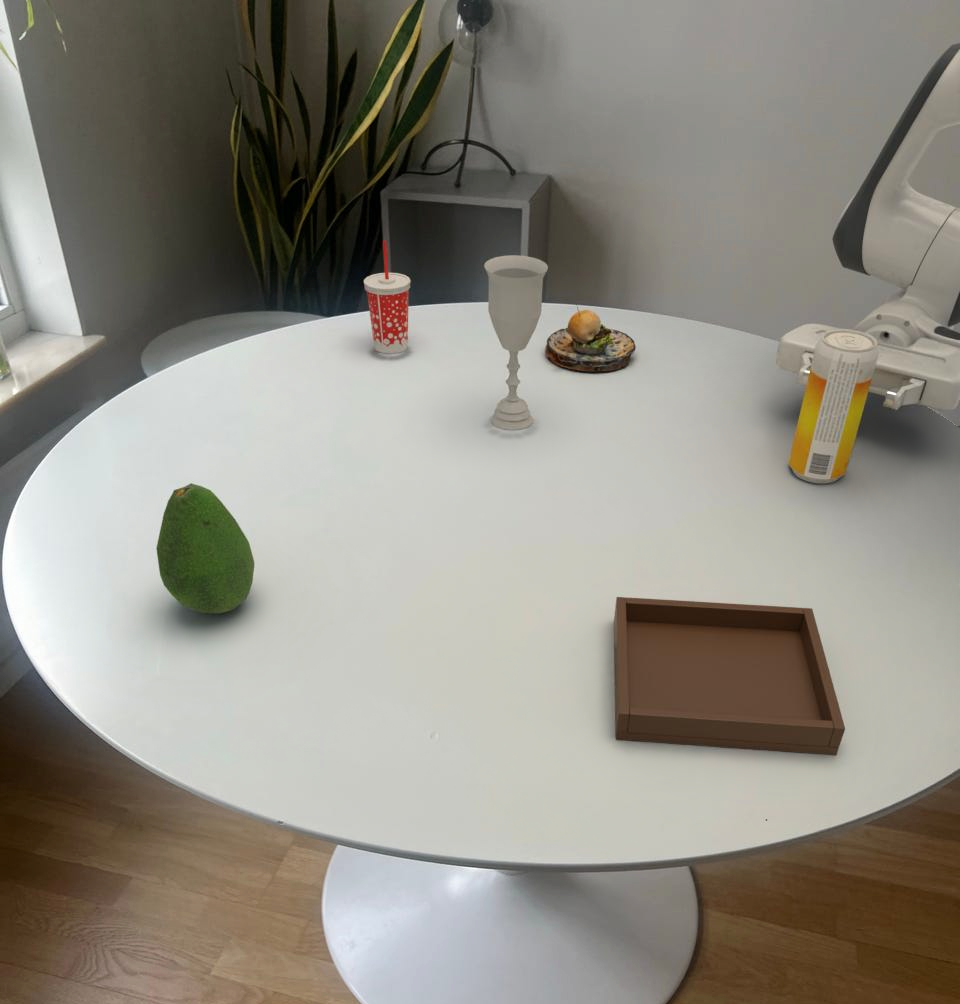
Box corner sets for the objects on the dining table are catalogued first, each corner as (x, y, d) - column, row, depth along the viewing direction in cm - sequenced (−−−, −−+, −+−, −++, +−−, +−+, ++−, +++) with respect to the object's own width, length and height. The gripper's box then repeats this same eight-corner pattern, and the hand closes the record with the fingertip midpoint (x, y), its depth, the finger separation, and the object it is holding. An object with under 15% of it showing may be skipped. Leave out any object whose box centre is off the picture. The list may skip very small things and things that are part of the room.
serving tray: (805, 633, 84) (812, 608, 82) (836, 755, 73) (845, 728, 71) (613, 621, 85) (616, 596, 83) (615, 739, 74) (618, 713, 72)
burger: (646, 369, 126) (652, 312, 121) (559, 377, 124) (562, 320, 119) (616, 334, 135) (621, 280, 130) (535, 341, 133) (537, 286, 128)
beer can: (841, 460, 107) (877, 329, 98) (847, 488, 103) (885, 353, 93) (785, 456, 108) (815, 325, 99) (789, 483, 104) (821, 349, 94)
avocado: (217, 570, 91) (194, 457, 83) (278, 599, 88) (259, 484, 80) (151, 613, 86) (119, 496, 78) (212, 645, 83) (185, 527, 75)
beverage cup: (421, 342, 133) (417, 237, 124) (400, 359, 128) (394, 251, 120) (382, 335, 135) (375, 230, 126) (360, 351, 130) (351, 244, 121)
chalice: (475, 410, 117) (475, 258, 105) (528, 403, 118) (533, 252, 107) (494, 438, 111) (497, 281, 100) (549, 429, 113) (558, 274, 102)
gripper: (807, 301, 114) (760, 338, 105) (989, 341, 105) (953, 386, 96) (796, 353, 118) (750, 392, 109) (970, 395, 109) (934, 443, 100)
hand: (846, 390), depth 103 cm, fingers open, 8 cm apart
